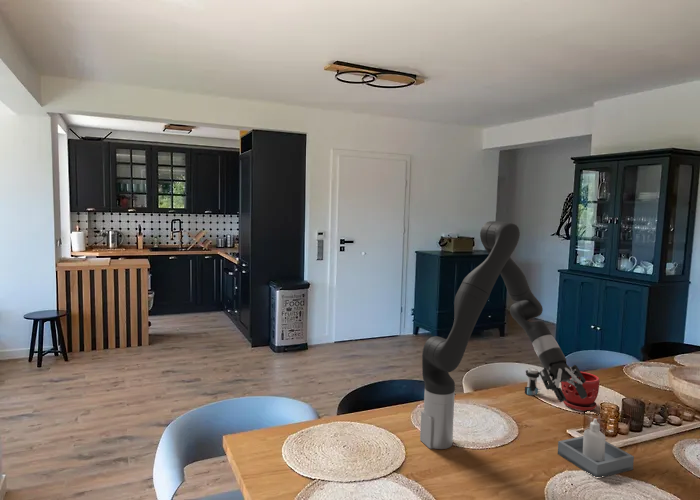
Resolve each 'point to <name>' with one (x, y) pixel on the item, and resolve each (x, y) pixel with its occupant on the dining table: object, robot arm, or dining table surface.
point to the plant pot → (573, 397)
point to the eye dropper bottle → (594, 442)
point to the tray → (610, 465)
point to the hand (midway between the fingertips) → (574, 399)
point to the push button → (532, 381)
